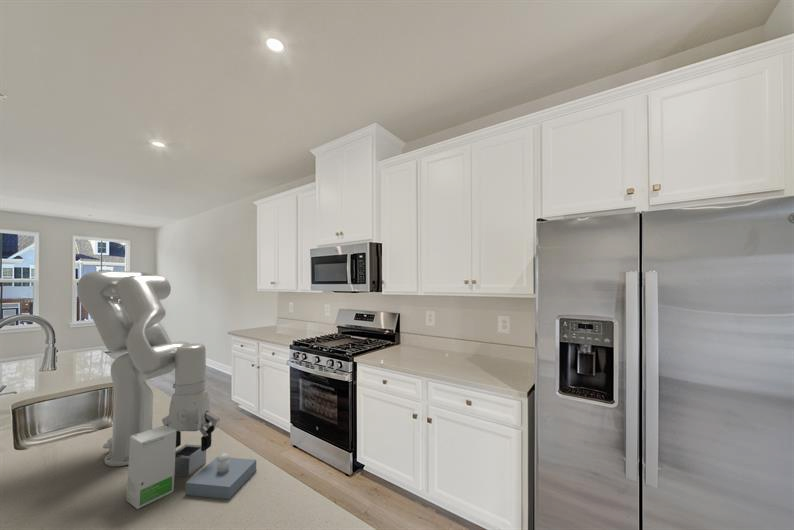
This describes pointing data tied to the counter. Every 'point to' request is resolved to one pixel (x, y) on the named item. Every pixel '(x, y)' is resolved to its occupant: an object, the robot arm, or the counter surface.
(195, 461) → the grey open box
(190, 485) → the shaft block
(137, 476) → the skincare box
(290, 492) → the counter surface
